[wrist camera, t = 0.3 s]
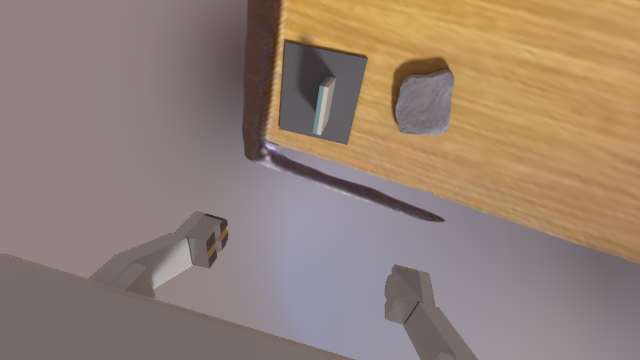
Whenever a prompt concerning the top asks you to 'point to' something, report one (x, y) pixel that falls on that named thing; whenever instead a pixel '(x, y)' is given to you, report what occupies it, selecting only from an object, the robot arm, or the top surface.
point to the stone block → (425, 103)
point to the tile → (323, 105)
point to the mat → (303, 88)
